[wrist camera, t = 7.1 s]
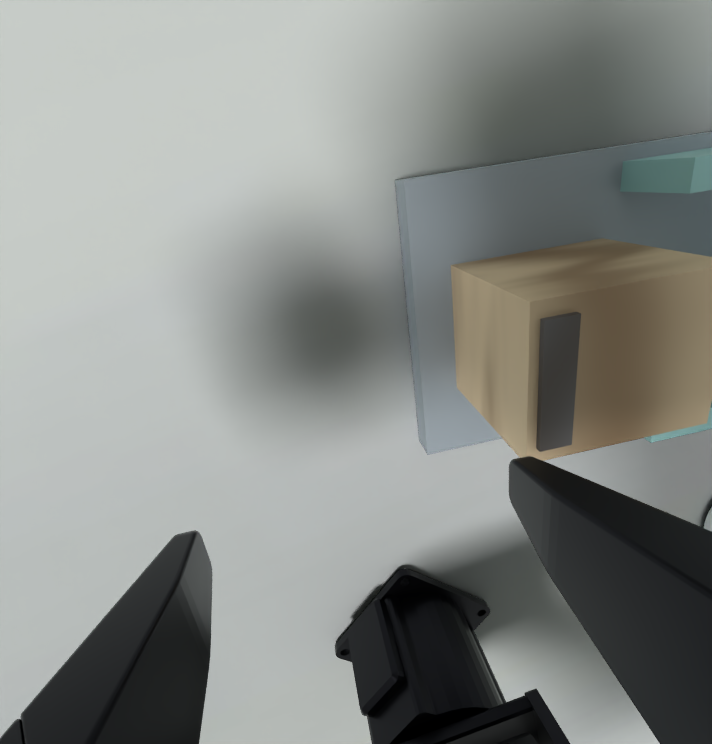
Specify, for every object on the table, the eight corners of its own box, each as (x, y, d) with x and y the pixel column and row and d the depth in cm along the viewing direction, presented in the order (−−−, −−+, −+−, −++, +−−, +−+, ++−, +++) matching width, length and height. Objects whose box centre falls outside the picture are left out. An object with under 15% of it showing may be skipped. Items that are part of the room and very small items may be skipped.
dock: (766, 122, 18) (903, 106, 14) (713, 376, 22) (806, 416, 18) (394, 180, 16) (433, 179, 12) (419, 440, 21) (453, 499, 17)
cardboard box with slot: (602, 238, 17) (748, 263, 12) (592, 359, 19) (712, 426, 14) (450, 265, 16) (533, 303, 11) (456, 387, 18) (529, 468, 13)
